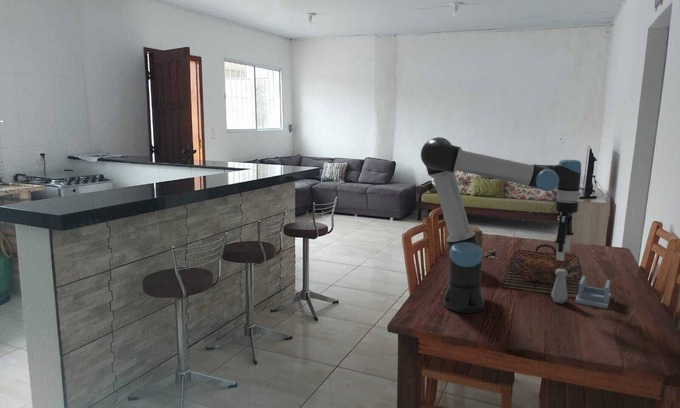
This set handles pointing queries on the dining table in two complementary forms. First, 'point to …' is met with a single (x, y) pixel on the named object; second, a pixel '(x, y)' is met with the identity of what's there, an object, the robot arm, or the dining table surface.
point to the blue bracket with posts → (593, 295)
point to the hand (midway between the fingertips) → (562, 255)
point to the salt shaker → (560, 287)
